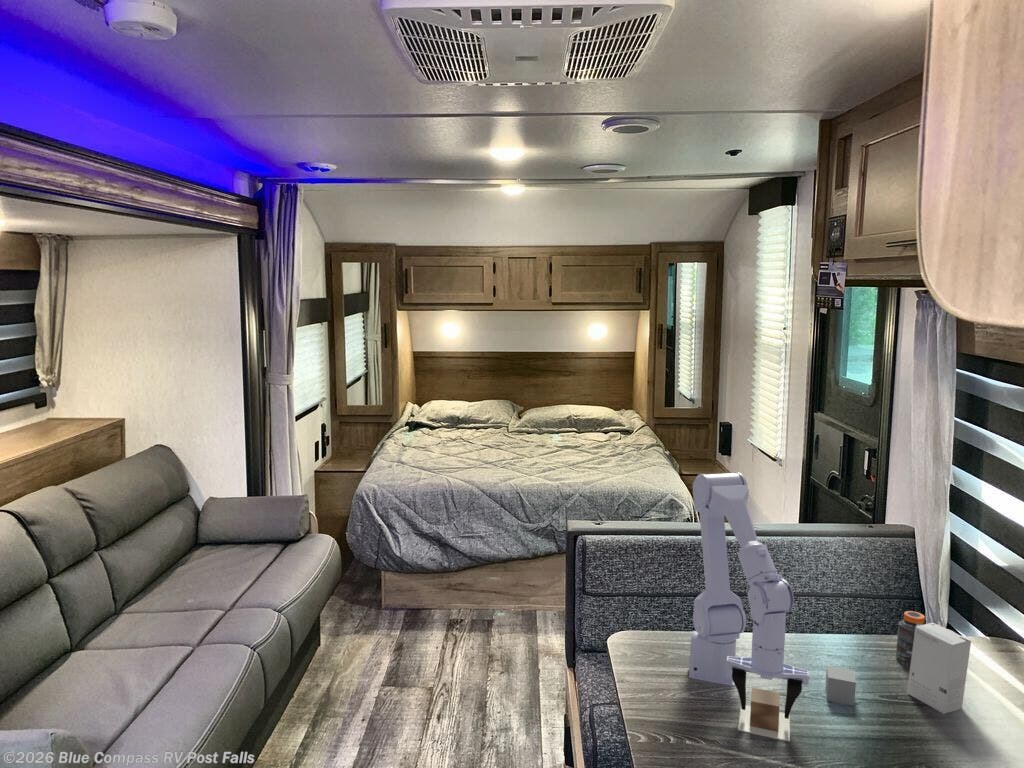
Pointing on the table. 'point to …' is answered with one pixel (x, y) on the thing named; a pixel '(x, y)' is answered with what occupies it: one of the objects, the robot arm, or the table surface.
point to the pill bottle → (907, 636)
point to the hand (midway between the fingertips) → (764, 711)
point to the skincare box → (938, 667)
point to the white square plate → (781, 734)
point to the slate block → (840, 685)
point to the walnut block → (764, 709)
